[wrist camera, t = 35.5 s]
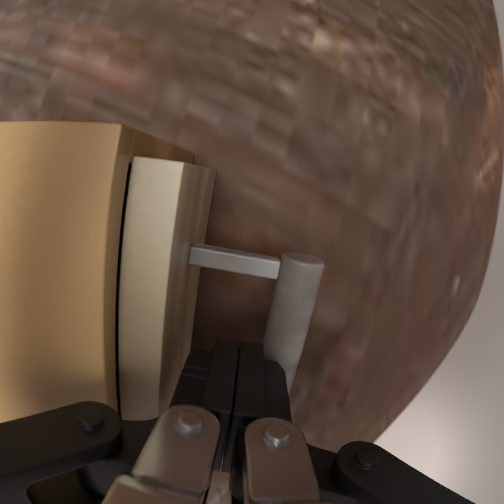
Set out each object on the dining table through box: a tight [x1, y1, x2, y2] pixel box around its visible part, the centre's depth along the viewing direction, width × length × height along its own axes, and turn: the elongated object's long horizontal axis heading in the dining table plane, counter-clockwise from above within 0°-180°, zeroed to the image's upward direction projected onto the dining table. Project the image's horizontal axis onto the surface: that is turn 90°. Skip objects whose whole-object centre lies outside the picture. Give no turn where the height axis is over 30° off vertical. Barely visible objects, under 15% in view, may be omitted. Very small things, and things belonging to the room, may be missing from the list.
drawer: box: [115, 156, 325, 421], centre depth 11 cm, size 18×11×7 cm, turn 80°
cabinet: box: [0, 121, 194, 423], centre depth 11 cm, size 15×13×9 cm
